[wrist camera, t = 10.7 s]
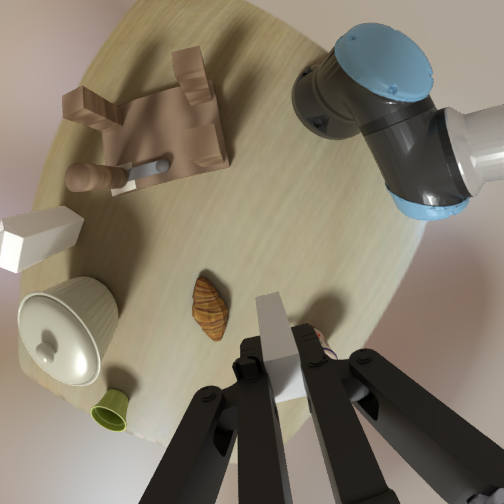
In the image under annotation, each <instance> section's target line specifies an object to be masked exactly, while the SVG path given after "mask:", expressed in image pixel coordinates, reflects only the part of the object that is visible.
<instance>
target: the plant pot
mask: <svg viewBox="0 0 504 504" xmlns="http://www.w3.org/2000/svg"><path fill="white" fill-rule="evenodd" d="M128 403H129V401H128V398H127V396H126V395H125V394H124V393H123V392H121V391H119V390H113V389H110V390H108V391H107V393H106V394H105V395H104V396H103V398H102V399H101V400H100V402H99V403H98V404H96V405H95V406H93V407H92V408H91V410H90V412H91V416H92V418H93V419H94V420H95V421H96V422H97V423H98V424H99V425H101V426H102V427H104V428H106V429H108V430H111V431H114V432H121V431H124V430H125V429H126V427H127V424H126V413H127V408H128Z"/></svg>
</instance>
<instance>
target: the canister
mask: <svg viewBox="0 0 504 504" xmlns="http://www.w3.org/2000/svg"><path fill="white" fill-rule="evenodd" d="M118 315H119V314H118V307H117V303H116V302H115V298H114V297H113V295H112V294H111V292H110V290H108V289H107V287H106V286H104V285H103V283H100V282H99V281H98V280H95V279H94V278H90V277H76V278H73V279H70V280H67V281H65V282H62V283H60V284H57V285H55V286H53V287H51V288H48V289H46V290H44V291H35V292H31V293H29V294H27V295H26V296H25V297H24V298H23V299H22V301H21V302H20V305H19V308H18V316H17V318H18V327H19V331H20V335H21V338H22V340H23V342H24V344H25V346H26V348H27V350H28V352H29V353H30V355H31V356H32V358H33V359H34V360H35V362H36V363H37V364H38V365H39V366H40V367H41V368H42V369H43V370H44V371H45V372H47V373H48V374H49V375H51V376H52V377H53V378H55V379H57V380H59V381H61V382H63V383H65V384H68V385H72V386H87V385H90V384H91V383H93V382H94V381H95V380H96V379H97V378H98V376H99V374H100V371H101V361H102V359H103V357H104V354H105V352H106V350H107V348H108V346H109V343H110V341H111V339H112V337H113V334H114V332H115V329H116V327H117V323H118Z"/></svg>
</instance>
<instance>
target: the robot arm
mask: <svg viewBox="0 0 504 504" xmlns="http://www.w3.org/2000/svg"><path fill="white" fill-rule="evenodd" d="M432 74H433V71H432V68H431V65H430V63H429V61H428V59H427V57H426V56H425V54H424V53H423V51H422V50H421V49H420V48H419V46H418V45H417V44H416V43H415V42H413V41H412V40H411V39H410V38H409V37H407V36H406V35H405V34H403V33H401V32H400V31H398V30H394V29H392V28H391V27H389V26H386V25H383V24H378V23H363V24H359V25H357V26H355V27H353V28H352V29H350V30H349V31H348V32H347V33H346V34H345V35H343V36H342V37H340V39H338V40H337V42H336V44H335V46H334V47H333V48H332V50H331V51H330V52H329V54H328V55H327V56H326V58H325V59H324V60H323V61H322V62H321V63H318V64H314V65H312V66H310V67H308V68H307V69H305V70H304V71H303V72H302V73H301V74H300V75H299V77H298V78H297V80H296V81H295V83H294V85H293V89H292V104H293V108H294V110H295V113H296V115H297V116H298V118H299V120H300V121H301V122H302V123H303V124H304V126H306V127H307V128H308V129H309V130H310V131H312V132H313V133H315V134H316V135H318V136H321V137H323V138H326V139H331V140H343V139H347V138H350V137H353V136H355V135H357V134H359V133H360V132H361V133H362V134H363V137H364V139H365V141H366V143H367V145H368V147H369V148H370V150H371V152H372V154H373V156H374V159H375V161H376V163H377V165H378V167H379V169H380V171H381V173H382V176H383V178H384V180H385V185H386V188H387V190H388V191H389V193H390V194H391V196H392V198H393V200H394V202H395V204H396V206H397V208H398V209H399V210H400V211H401V212H402V213H403V214H404V215H406V216H408V217H410V218H413V219H417V220H426V221H430V220H431V221H432V220H440V219H445V218H449V215H456V214H458V213H460V212H461V211H463V210H464V209H465V208H466V206H467V204H468V202H469V198H470V197H475V196H477V195H478V193H479V191H480V190H481V188H482V186H483V185H484V184H485V182H490V181H496V180H502V179H504V104H503V105H499V106H495V107H491V108H487V109H484V110H480V111H476V112H473V113H470V114H461V113H460V112H458V111H456V110H455V109H453V108H451V107H446V108H443V109H440V110H437V109H436V107H435V105H434V103H433V101H432V99H431V97H430V95H429V93H430V91H431V89H432V87H433V78H432V77H431V75H432ZM255 298H256V305H257V313H258V321H259V329H260V336H255V337H251V338H246V339H244V340H243V341H242V343H241V345H240V358H238V359H236V361H235V362H234V363H233V366H232V368H233V370H234V373H235V376H236V378H237V382H236V383H235V384H233V385H232V386H230V387H228V388H225V389H223V390H221V389H220V388H219V387H217V386H206V387H203V388H201V389H200V390H198V391H197V392H196V393H195V395H194V396H193V398H192V400H191V402H190V404H189V406H188V408H187V410H186V412H185V414H184V416H183V418H182V420H181V422H180V424H179V426H178V428H177V430H176V432H175V434H174V436H173V438H172V440H171V442H170V444H169V446H168V448H167V449H166V452H165V453H164V455H163V457H162V459H161V461H160V463H159V465H158V467H157V469H156V471H155V473H154V475H153V477H152V478H151V481H150V482H149V485H148V486H147V488H146V490H145V492H144V494H143V496H142V498H141V500H140V502H139V503H138V504H215V502H216V499H217V496H218V493H219V490H220V487H221V484H222V481H223V478H224V475H225V472H226V469H227V466H228V463H229V460H230V456H231V453H232V450H233V447H234V444H235V441H236V437H237V434H238V497H239V504H293V502H292V496H291V489H290V483H289V478H288V471H287V465H286V459H285V453H284V446H283V440H282V434H281V428H280V422H279V416H278V410H277V407H276V403H277V402H282V401H286V400H291V399H295V398H299V397H303V396H307V399H308V405H309V410H310V413H311V415H312V418H313V422H314V425H315V429H316V433H317V436H318V440H319V443H320V447H321V451H322V454H323V458H324V462H325V465H326V469H327V473H328V476H329V480H330V484H331V488H332V491H333V495H334V499H335V502H336V504H400V502H399V500H398V498H397V496H396V494H395V492H394V491H393V490H391V489H390V488H388V486H387V484H386V482H385V480H384V477H383V475H382V472H381V470H380V468H379V465H378V463H377V461H376V458H375V456H374V453H373V451H372V449H371V447H370V444H369V442H368V439H367V437H366V435H365V433H364V431H363V428H362V426H361V424H360V421H359V419H358V417H357V415H356V412H355V410H354V408H353V406H352V404H353V405H354V406H355V407H356V408H357V409H358V410H359V412H360V413H361V414H362V415H363V416H364V417H365V418H366V419H367V420H368V421H369V423H370V424H371V425H372V426H373V427H374V428H375V429H376V430H377V431H378V432H379V433H380V434H381V435H382V437H383V438H384V439H385V440H386V441H387V442H388V443H389V444H390V445H391V446H392V447H393V448H394V449H395V450H396V451H397V452H398V453H399V455H400V456H402V458H403V459H404V460H405V461H406V462H407V463H408V464H409V465H410V466H411V467H412V468H413V469H414V470H415V471H416V472H417V473H418V474H419V475H420V476H421V477H422V478H423V479H424V480H425V481H426V482H427V483H428V484H429V485H430V486H431V487H432V488H433V490H434V491H436V493H438V494H439V495H440V496H441V497H442V498H443V499H444V500H445V501H446V502H447V503H449V504H504V449H502V448H501V447H500V446H499V445H497V444H496V443H495V442H493V441H492V440H491V439H489V438H488V437H487V436H485V435H484V434H483V433H481V432H480V431H479V430H478V429H476V428H475V427H473V426H472V425H471V424H470V423H468V422H467V421H466V420H464V419H463V418H462V417H461V416H459V415H458V414H457V413H455V412H454V411H453V410H451V409H450V408H449V407H447V406H446V405H445V404H444V403H442V402H441V401H440V400H438V399H437V398H436V397H434V396H433V395H432V394H431V393H429V392H428V391H426V390H425V389H424V388H423V387H421V386H420V385H419V384H418V383H416V382H415V381H414V380H412V379H411V378H410V377H408V376H407V375H406V374H405V373H403V372H402V371H401V370H399V369H398V368H397V367H395V366H394V365H393V364H392V363H390V362H389V361H388V360H386V359H385V358H384V357H383V356H381V355H380V354H379V353H377V352H376V351H374V350H372V349H367V348H366V349H359V350H357V351H355V352H353V353H352V354H351V355H350V357H349V359H344V360H336V359H332V358H330V357H329V356H328V355H327V354H326V353H325V351H324V349H323V347H322V345H321V343H320V341H319V338H318V336H317V334H316V332H315V330H314V328H313V327H312V326H311V325H309V324H308V323H306V324H302V325H299V326H295V327H290V324H289V321H288V318H287V315H286V312H285V309H284V306H283V303H282V300H281V297H280V294H279V292H275V293H271V294H267V295H263V296H259V297H255ZM275 402H276V403H275ZM351 402H352V403H351Z"/></svg>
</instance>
